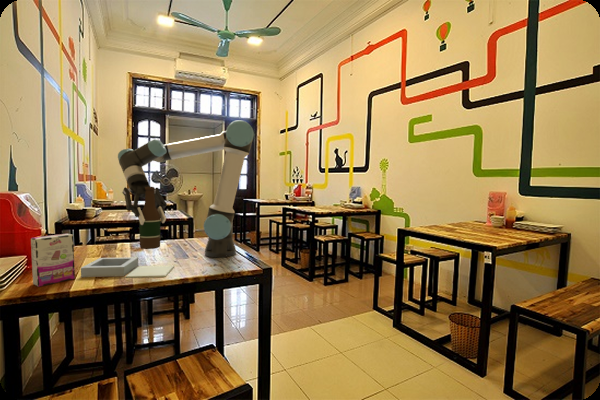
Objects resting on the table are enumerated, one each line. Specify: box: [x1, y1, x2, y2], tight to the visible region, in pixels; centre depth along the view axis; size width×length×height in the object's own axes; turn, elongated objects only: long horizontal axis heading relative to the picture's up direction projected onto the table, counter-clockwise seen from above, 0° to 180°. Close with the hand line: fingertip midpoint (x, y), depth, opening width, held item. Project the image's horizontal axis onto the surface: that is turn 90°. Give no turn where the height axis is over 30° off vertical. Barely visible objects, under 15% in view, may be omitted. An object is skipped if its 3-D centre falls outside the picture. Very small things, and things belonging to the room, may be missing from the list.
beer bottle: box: [139, 186, 161, 250], centre depth 123 cm, size 8×8×24 cm
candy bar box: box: [30, 233, 76, 287], centre depth 110 cm, size 11×5×16 cm, turn 148°
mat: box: [125, 264, 175, 279], centre depth 124 cm, size 14×14×1 cm
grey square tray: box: [80, 256, 139, 278], centre depth 125 cm, size 15×15×4 cm
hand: (153, 221), depth 121 cm, fingers closed on beer bottle, 7 cm apart
